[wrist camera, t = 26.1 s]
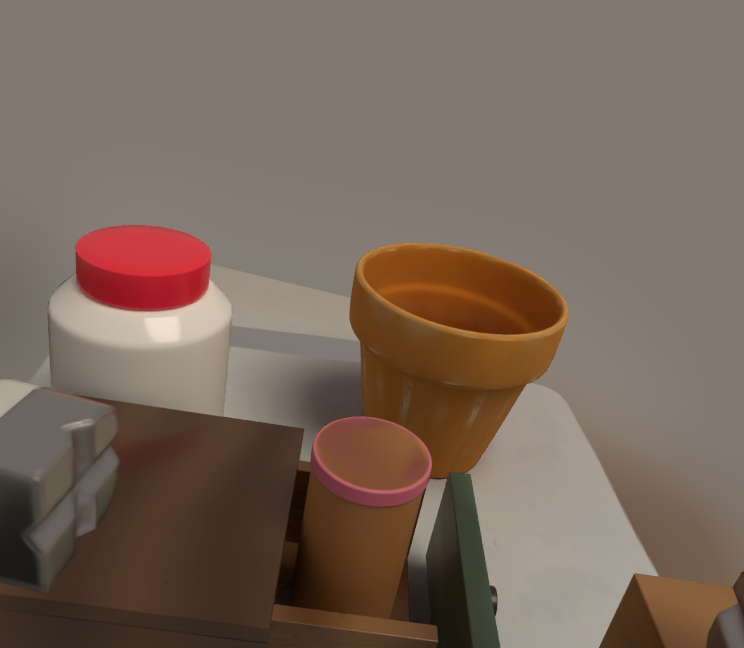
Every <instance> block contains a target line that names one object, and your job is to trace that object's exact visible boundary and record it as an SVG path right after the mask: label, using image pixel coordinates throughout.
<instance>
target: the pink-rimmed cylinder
mask: <svg viewBox="0 0 744 648" xmlns="http://www.w3.org/2000/svg"><path fill="white" fill-rule="evenodd" d="M431 469H432V460H431V455H430V453H429V451H428V449H427V447H426V446H425V444H424V443H423V442H422V441H421V440H420V439H419V438H418V437H417V436H416V435H415V434H413V433H412V432H411V431H409V430H407V429H406V428H404V427H402V426H400V425H398V424H395V423H393V422H390V421H387V420H383V419H379V418H373V417H348V418H343V419H339V420H336V421H333V422H331V423H329V424H327V425H326V426H324V427H323V428H322V429H321V430H320V431H319V432H318V434H317V435H316V437H315V439H314V441H313V446H312V452H311V472H310V478H309V484H308V490H307V496H306V502H305V508H304V514H303V520H302V526H301V533H300V539H299V545H298V551H297V557H296V563H295V569H294V575H293V581H292V587H291V593H290V599H289V606H293V607H300V608H308V609H315V610H323V611H330V612H338V613H346V614H353V615H361V616H368V617H376V618H383V619H390V615H391V612H392V608H393V604H394V600H395V597H396V593H397V589H398V585H399V581H400V578H401V574H402V570H403V566H404V562H405V559H406V555H407V551H408V547H409V543H410V540H411V536H412V532H413V528H414V524H415V521H416V517H417V513H418V509H419V505H420V502H421V498H422V494H423V491H424V489H425V488H426V486H427V484H428V481H429V477H430V473H431Z"/></svg>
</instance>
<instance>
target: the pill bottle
mask: <svg viewBox="0 0 744 648" xmlns="http://www.w3.org/2000/svg"><path fill="white" fill-rule="evenodd" d="M75 248H76V249H75V250H76V273H75V274H73V275H72V276H71V277H69V278H68V279H67V280H65V281H64V282H63V283H62V284H61V285H60V286H59V287H57V288H56V289H55V290H54V291H53V294H52V295H51V297H50V299H49V302H48V331H49V353H50V375H51V389H54V390H57V391H61V392H65V393H68V394H74V395H81V396H88V397H94V398H101V399H108V400H114V401H121V402H128V403H135V404H141V405H148V406H155V407H161V408H168V409H175V410H181V411H188V412H195V413H202V414H208V415H215V416H222V417H223V416H224V405H225V394H226V383H227V372H228V360H229V349H230V338H231V327H232V305H231V302H230V300H229V298H228V297H227V295H226V294H225V293H224V292H223V291H222V289H221V288H219V287H218V286H217V285H216V284H215V283H214V282H213V281H212V280H211V279H210V278H209V277H210V264H211V251H210V249H209V247H208V246H207V245H206V244H205V243H204V242H202V241H201V240H199V239H198V238H196V237H193V236H191V235H189V234H186V233H184V232H181V231H177V230H173V229H168V228H162V227H156V226H145V225H144V226H143V225H126V226H125V225H124V226H115V227H108V228H103V229H99V230H96V231H93V232H90V233H88V234H86V235H84V236H83V237H82V238H81V239H79V240H78V242H77V244H76V246H75Z"/></svg>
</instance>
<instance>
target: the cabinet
mask: <svg viewBox="0 0 744 648" xmlns="http://www.w3.org/2000/svg"><path fill="white" fill-rule="evenodd" d="M72 395H74V394H72ZM76 396H79V397H83V398H86V399H90V400H94V401H97V402H101V403H105V404H108V405H112V406H114V407H115V408H116V409H117V410H118V411H119V416H120V434H119V435H118V436H117V437H116V438H115V440H114V441H113V442H112V443H111V444H110V446H111V447H112V449H113V450H114V452H115V453H116V455H117V456H118V458H119V459H120V476H119V481H118V486H117V491H116V494H115V496H114V498H113V500H112V503H111V505H110V507H109V510H108V512H107V514H106V515H105V516H104V518H103V519H102V520H101V522H100V523H99V525H98V526H97V527H96V529H94V530H92V531H90V532H87V533H85V534H83V535H81V536H78V537H76V555H75V556H74V558H73V559H72V560H71V562H70V563H69V564H68V565H67V567H66V568H65V569H64V571H63V572H62V573H61V574H60V576H59V577H58V578H57V580H56V581H55V582H54V584H53V585H52V586H51V587H50V589H49V590H48V591H47V593H46V594H44V593H40V592H36V591H32V590H28V589H23V588H19V587H15V586H11V585H7V584H3V583H0V648H267V644H268V638H269V631H270V625H271V619H272V613H273V607H274V602H275V596H276V590H277V584H278V579H279V573H280V567H281V561H282V555H283V550H284V544H285V538H286V532H287V527H288V521H289V515H290V509H291V504H292V498H293V492H294V486H295V480H296V475H297V469H298V463H299V459H300V453H301V446H302V440H303V434H304V429H302V428H296V427H289V426H282V425H275V424H269V423H262V422H255V421H249V420H242V419H235V418H228V417H222V416H215V415H208V414H202V413H195V412H188V411H181V410H175V409H168V408H161V407H155V406H148V405H141V404H135V403H128V402H121V401H114V400H108V399H101V398H94V397H88V396H81V395H76Z"/></svg>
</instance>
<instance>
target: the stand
mask: <svg viewBox="0 0 744 648" xmlns="http://www.w3.org/2000/svg"><path fill="white" fill-rule="evenodd" d="M736 604H738V602H737V599H736V596H735V593H734V590H733V587H728V586H721V585H714V584H707V583H699V582H693V581H685V580H678V579H671V578H664V577H657V576H650V575H643V574H634V575H633V577H632V579H631V581H630V583H629V586H628V588H627V590H626V592H625V594H624V596H623V598H622V600H621V602H620V604H619V607H618V609H617V611H616V613H615V615H614V617H613V619H612V621H611V623H610V625H609V628H608V630H607V632H606V634H605V636H604V638H603V640H602V642H601V644H600V647H599V648H706V643H707V637H708V632H709V630H710V628H711V626H712V624H713V622H714V620H715V618H716V616H717V614H718V613H719V612H721V611H723V610H725V609H727V608H729V607H731V606H734V605H736Z"/></svg>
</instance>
